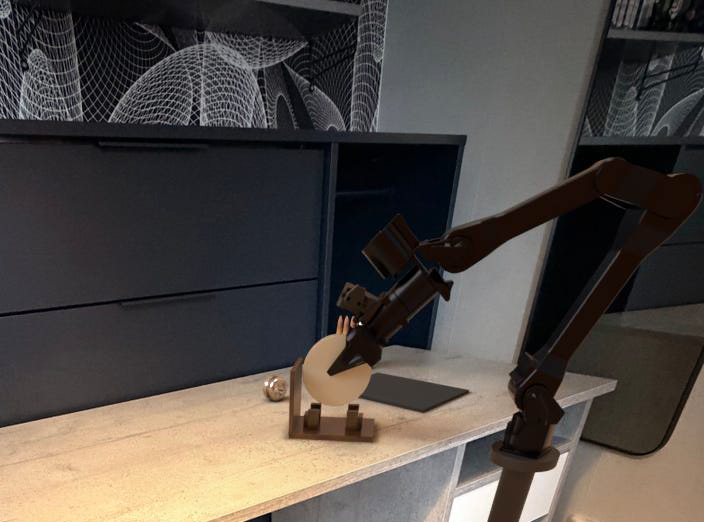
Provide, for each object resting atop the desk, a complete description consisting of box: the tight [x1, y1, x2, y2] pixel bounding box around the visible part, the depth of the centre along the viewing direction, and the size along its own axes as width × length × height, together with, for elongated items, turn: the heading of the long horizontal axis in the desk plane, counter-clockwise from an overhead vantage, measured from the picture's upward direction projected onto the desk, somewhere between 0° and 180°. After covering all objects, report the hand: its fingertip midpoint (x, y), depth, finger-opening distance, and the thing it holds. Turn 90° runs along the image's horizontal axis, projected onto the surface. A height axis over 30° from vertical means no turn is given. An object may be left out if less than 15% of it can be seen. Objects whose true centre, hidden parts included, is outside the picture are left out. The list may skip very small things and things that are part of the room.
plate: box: [302, 333, 373, 407], centre depth 90 cm, size 12×2×12 cm, turn 75°
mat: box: [358, 372, 470, 414], centre depth 114 cm, size 24×18×1 cm
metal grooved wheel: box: [262, 374, 288, 402], centre depth 113 cm, size 5×3×5 cm, turn 129°
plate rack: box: [287, 357, 376, 443], centre depth 93 cm, size 15×10×12 cm, turn 75°
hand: (329, 372), depth 91 cm, fingers closed on plate, 2 cm apart
